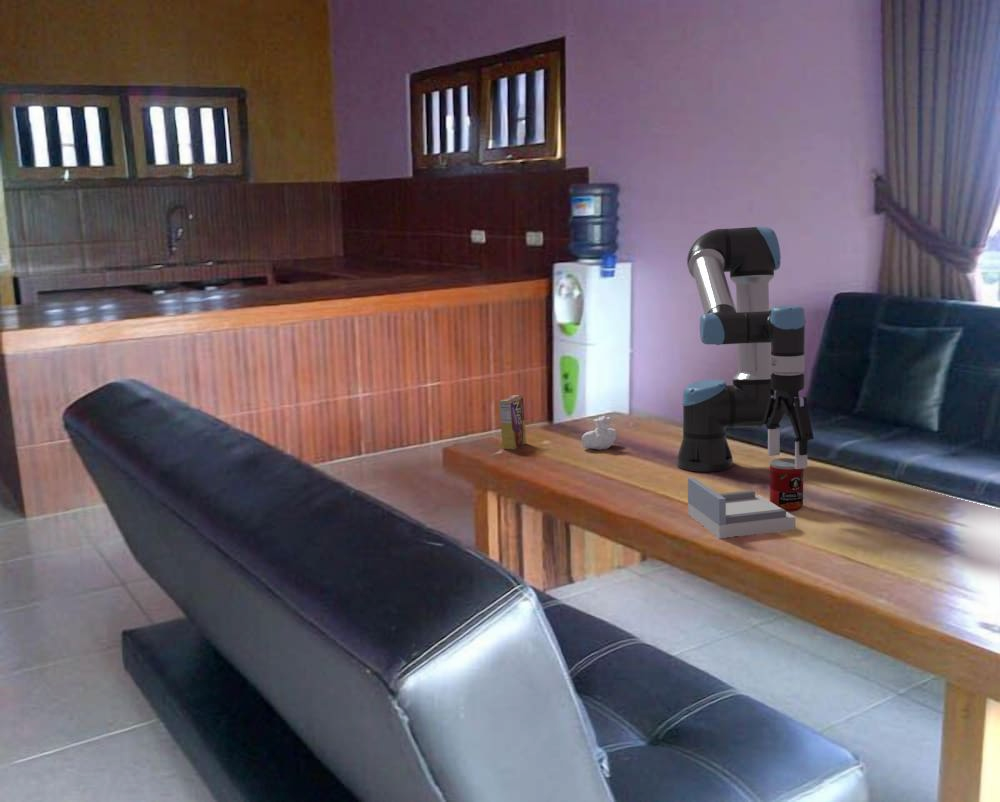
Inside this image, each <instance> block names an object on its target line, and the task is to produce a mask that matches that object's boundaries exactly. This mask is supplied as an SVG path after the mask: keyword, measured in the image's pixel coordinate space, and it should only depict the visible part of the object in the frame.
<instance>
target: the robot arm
mask: <svg viewBox="0 0 1000 802" xmlns="http://www.w3.org/2000/svg"><path fill="white" fill-rule="evenodd" d="M775 232H776V231H775V230H773V229H772V228H771V227H767V226H765V227H764V226H763V227H762V226H753V227H752V226H750V227H735V228H716V229H713V230H712V229H711V230H709V231H707V232H705V233H704V234H702V235H701V236H699V237H698V238H697V239H696V240H695V241H694V242H693V244H692V245H691V247H690V249H689V251H688V254H687V258H686V259H687V260H686V261H687V264H686V265H687V269H688V272H689V273H690V275H691V277H692V278H693V279H694V280H695V283H696V287H697V290H698V291H697V292H698V294H699V298H700V302H701V305H702V309H703V310H702V311H703V313H704V314H702V315H701V316H700V319H699V336H700V341H701V342H702V343H703V345H716V346H721V345H733V344H734V345H737V373H736V374H735V375H734V376H733V377H732V384H731V385H730V384H729V385H727V382H726V381H725V380H722V379H705V380H700V381H696V382H693V383H689V384H688V385H687V386H685V387H684V388H683V392H682V402H681V404H682V405H681V406H682V435H683V436H682V441H681V444H680V447H679V450H678V454H677V456H676V465H677V467H679V468H680V469H683V470H685V471H690V472H691V471H692V472H699V473H703V472H706V473H709V472H719V471H726V470H729V469H731V468H732V467H733V465H734V464H733V459H734V458H733V455H732V451H731V448H730V445H729V443H728V439H727V428H753V427H754V428H757V427H758V428H763V427H765V428H766V429H767V456H768V457H774V456H776V457H777V456H780V453H781V452H780V449H781V446H780V445H781V444H780V443H781V441H780V440H781V439H780V437H781V435H780V434H781V429H780V427H781V425H780V423H781V421H782V419H783V417H784V414H785V415H786V417H788V418H789V420H790V422H791V425H792V428H793V431H794V434H795V437H796V438H795V439H794V459H795V469H803V470H804V469H808V441H810V440H814V437H815V436H814V433H813V428H812V425H811V419H810V415H809V410H808V403H807V402H808V400H807V397H806V396H802V397H800V394H799V392H800V391H802V390H804V389H805V374H804V373H803V372H804V371H805V364H806V363H805V361H806V359H805V356H806V355H805V343H806V342H805V339H806V338H805V332H806V331H805V329H806V317H805V316H806V315H805V309H804V307H803V306H802V305H789V304H788V305H776V306H773V307H772V308H771V309H770V307H769V306H770V298H769V296H770V295H769V293H770V292H769V291H770V290H769V283H770V282H771V281H772V279H773V278H774V277H775V271H777V270H779V269H780V267H781V260H782V259H781V257H782V256H781V248H780V244H779V239H778V237H777V233H775ZM725 273H729V278H730V280H731V281H732V282H733V283H734V284H735V289H736V291H735V294H736V297H735V298H736V307H735V303H734V300H733V296H732V294H731V290H730V287H729V283H728V280H727V278H726V274H725Z"/></svg>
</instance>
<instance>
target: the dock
mask: <svg viewBox="0 0 1000 802" xmlns="http://www.w3.org/2000/svg"><path fill="white" fill-rule="evenodd" d="M689 515H690V516H691V517H690V516H689ZM687 516H689V517H690V518H691V519H693V518H694V519H695V520H696V522H697V523H698V522H699V523H700V524H699V523H698V524H699V525H701V526H702V525H703V526H704V527H703V526H702V527H703V528H705V529H706V528H707V529H708V530H707V529H706V530H707V531H708V532H710V533H711V534H712V535H713V536H715V537H716V538H718V539H719V540H722V539H728V538H727V537H730V538H735V537H734V536H739V537H744V536H745V537H746V535H747V536H754V534H756V535H763V534H764V533H765V534H771V533H772V532H773V533H779V532H778V531H782V532H788V531H787V530H790V531H795V530H796V516H794V515H793V514H792V513H790V512H789V511H786V510H784V509H782V508H780V507H778V506H777V505H775V504H773V503H772V502H770V500H769V499H767V498H765V497H763V496H762V495H760V494H756V491H754V490H753V489H752V490H743V491H732V492H725V493H724V492H722V493H719V492H716V491H715V490H713V489H712V488H711V487H709V486H707V485H706V484H705V483H703V482H701V481H700V480H699V479H697V478H696V477H687ZM694 519H693V520H694ZM695 520H694V521H695ZM765 534H764V535H765Z"/></svg>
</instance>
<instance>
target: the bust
mask: <svg viewBox="0 0 1000 802" xmlns="http://www.w3.org/2000/svg"><path fill="white" fill-rule="evenodd" d="M592 421H593V423H594V424H595V429H594V430H589V431H587V432H585V433H584V434H583V435H582V436H581V445H582V447H583V448H584V449H591V450H599V451H601V450H602V449H604V450H607V449H609V448H610V447H611V446H613V444H614V442H615V440H616V439H617V437H618V431H617V430H616V429H615V428H610V424H611V421H612V419H611V417H609V416H607V417H606V416H605V415H603V416H600V415H599V417H598V418H595V419H592ZM608 427H609V428H608ZM602 451H603V450H602Z"/></svg>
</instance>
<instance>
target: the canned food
mask: <svg viewBox="0 0 1000 802" xmlns="http://www.w3.org/2000/svg"><path fill="white" fill-rule="evenodd" d="M769 462H770V463H769V501H770V502H772V503H773V504H775V505H777V506H778V507H780V508H782V509H784V510H786V512H797V511H800V510H801V509H802V508H803V505H804V468H803V469H795V458H789V457H788V458H787V457H784V458H783V457H782V458H780V457H779V458H775V459H772V460H770V461H769Z"/></svg>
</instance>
